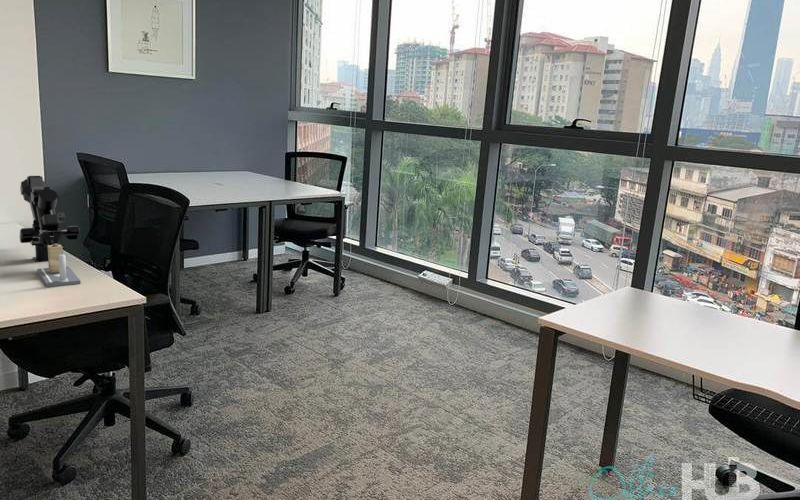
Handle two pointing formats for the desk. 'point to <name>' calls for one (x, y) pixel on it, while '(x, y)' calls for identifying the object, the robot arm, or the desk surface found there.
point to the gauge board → (54, 279)
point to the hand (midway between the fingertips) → (54, 253)
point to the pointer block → (54, 257)
